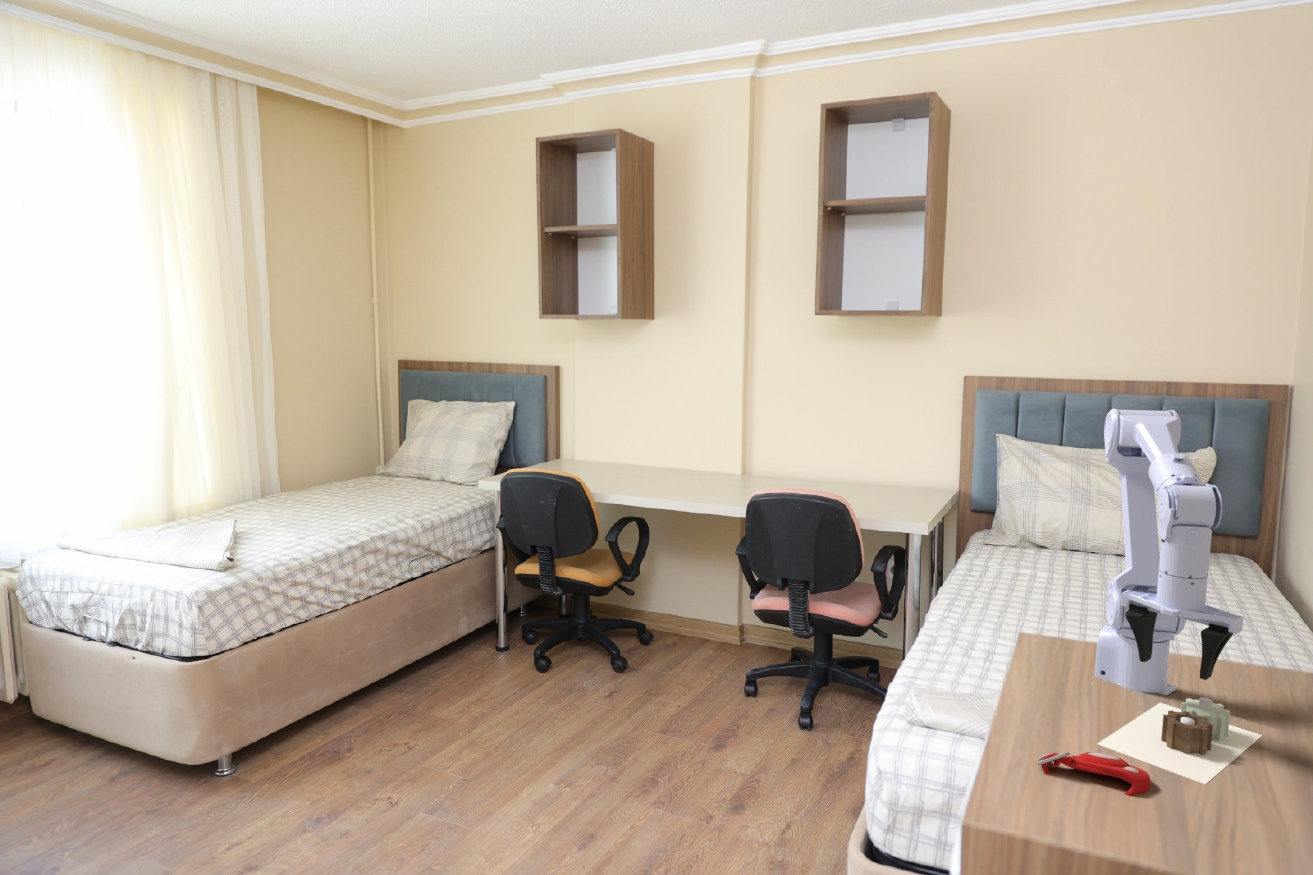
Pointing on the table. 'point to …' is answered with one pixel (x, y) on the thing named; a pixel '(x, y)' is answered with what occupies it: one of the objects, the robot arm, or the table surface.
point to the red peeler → (1101, 768)
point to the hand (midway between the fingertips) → (1174, 668)
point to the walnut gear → (1187, 733)
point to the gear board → (1147, 746)
